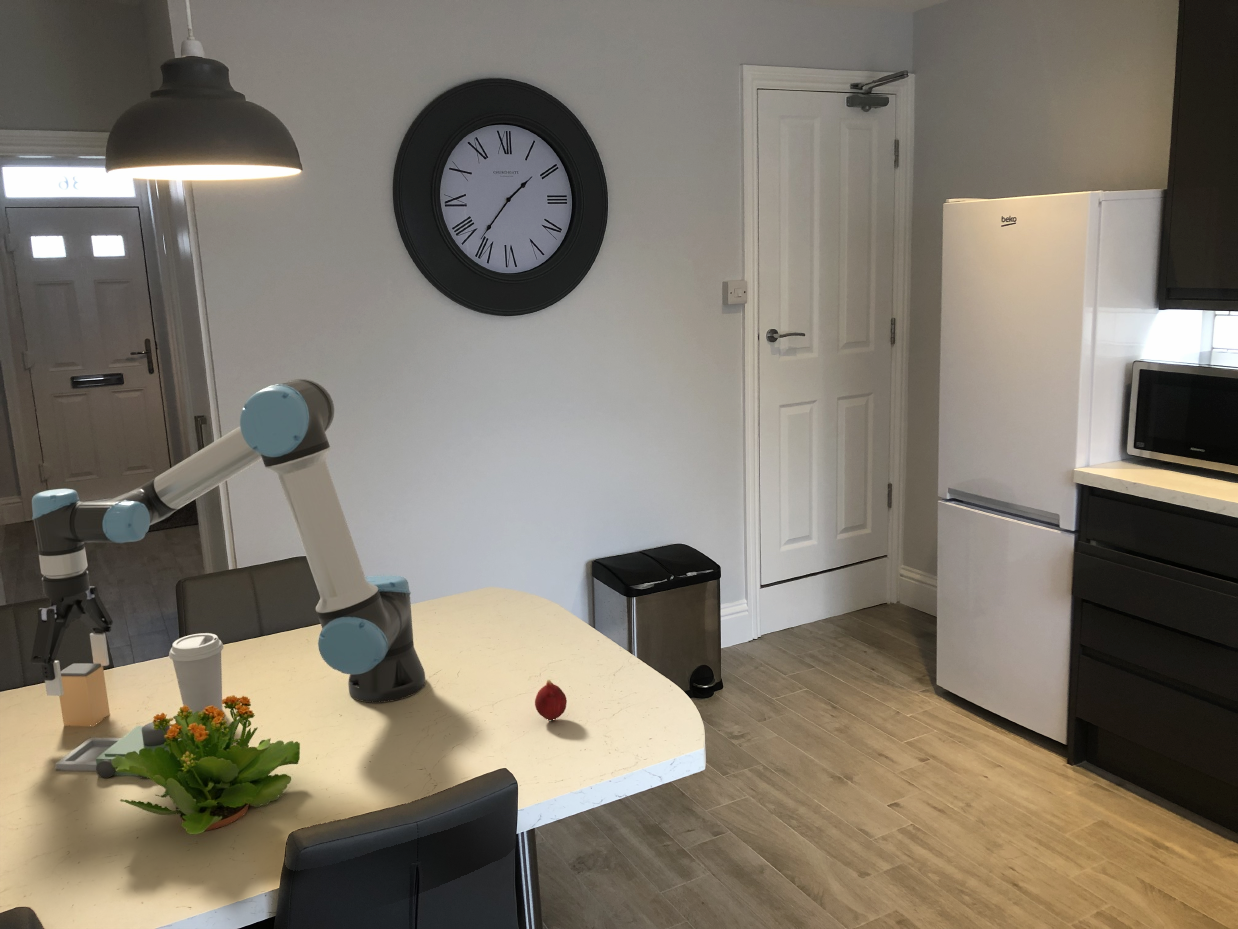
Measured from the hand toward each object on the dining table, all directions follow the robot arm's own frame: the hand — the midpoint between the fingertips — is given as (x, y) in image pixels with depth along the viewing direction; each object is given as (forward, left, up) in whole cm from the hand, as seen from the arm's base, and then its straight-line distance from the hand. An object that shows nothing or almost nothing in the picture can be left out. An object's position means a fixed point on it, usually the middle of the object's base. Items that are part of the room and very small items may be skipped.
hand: (79, 679), depth 181 cm
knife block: (0, 0, -8) cm, 8 cm away
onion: (-90, -2, -9) cm, 91 cm away
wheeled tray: (-17, +14, -8) cm, 24 cm away
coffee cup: (-22, -3, -9) cm, 24 cm away
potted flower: (-42, +32, -9) cm, 53 cm away
